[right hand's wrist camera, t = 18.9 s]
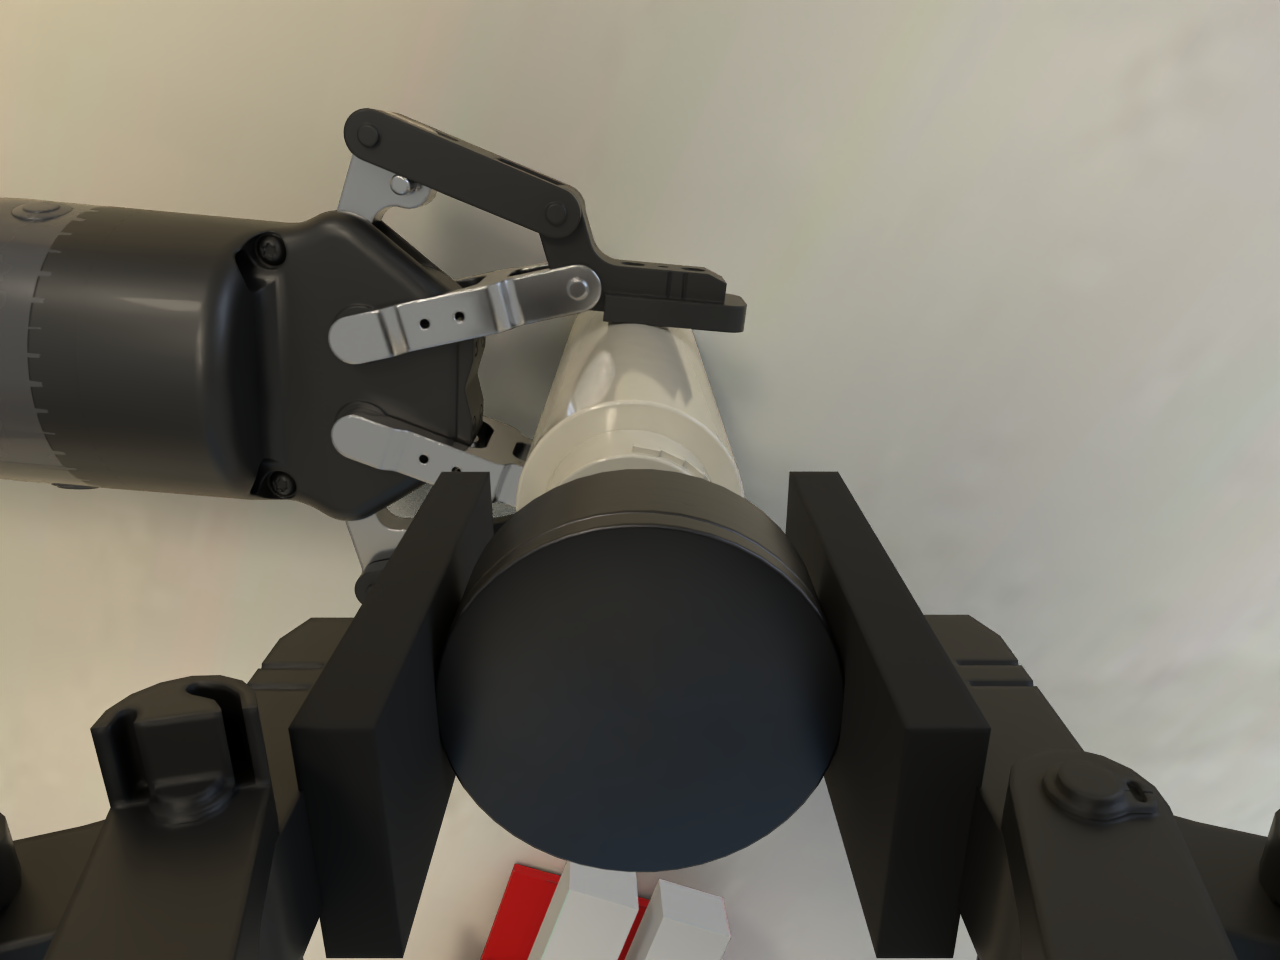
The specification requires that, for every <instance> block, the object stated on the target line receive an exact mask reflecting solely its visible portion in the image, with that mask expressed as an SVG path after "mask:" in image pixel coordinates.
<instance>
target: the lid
mask: <svg viewBox="0 0 1280 960" xmlns="http://www.w3.org/2000/svg"><path fill="white" fill-rule="evenodd" d="M844 687H845V675H844V671H843V666H842V662H841V658H840V653H839V650H838V648H837V645H836V643H835V640H834V638H833V635H832V633H831V630H830V627H829V625H828V622H827V620H826V617H825V615H824V612H823V609H822V607H821V604H820V602H819V599H818V597H817V594H816V591H815V589H814V586H813V584H812V581H811V579H810V576H809V574H808V571H807V569H806V566H805V564H804V562H803V560H802V559H801V557H800V555H799V553H798V552H797V550H796V548H795V546H794V545H793V544H792V542H791V541H790V540H789V539H788V537H787V536H786V535H785V533H784V532H783V531H782V530H781V528H780V527H779V526H778V525H777V524H776V523H775V522H773V521H772V520H771V519H770V518H769V517H768V516H767V515H766V514H765V513H764V512H763V511H762V510H760V509H759V508H757V507H756V506H755V505H753V504H752V503H751V502H749V501H748V500H746V499H745V498H743V497H741V496H740V495H738V494H736V493H734V492H732V491H730V490H729V489H727V488H725V487H723V486H720V485H718V484H715V483H713V482H710V481H707V480H705V479H702V478H699V477H695V476H691V475H687V474H683V473H679V472H673V471H664V470H656V469H623V470H616V471H608V472H601V473H597V474H593V475H589V476H585V477H581V478H578V479H575V480H573V481H570V482H567V483H565V484H562V485H560V486H557V487H555V488H553V489H551V490H549V491H548V492H546V493H544V494H542V495H541V496H539V497H537V498H535V499H533V500H532V501H531V502H529V503H528V504H527V505H525V506H524V507H523V508H521V509H520V510H519V511H517V512H516V513H515V514H514V515H513V516H512V517H511V518H510V519H509V520H508V521H507V522H506V523H505V524H504V525H502V526H501V527H500V528H499V529H498V531H497V532H496V533H495V535H494V536H493V537H492V539H491V540H490V541H489V542H488V544H487V545H486V546H485V548H484V550H483V552H482V553H481V555H480V557H479V559H478V560H477V562H476V564H475V566H474V568H473V571H472V573H471V576H470V579H469V581H468V584H467V586H466V589H465V591H464V594H463V596H462V599H461V602H460V604H459V607H458V609H457V612H456V614H455V617H454V620H453V622H452V625H451V627H450V630H449V632H448V635H447V638H446V640H445V643H444V645H443V648H442V651H441V653H440V657H439V662H438V667H437V671H436V676H435V694H436V706H437V716H438V727H439V735H440V739H441V743H442V747H443V749H444V751H445V754H446V756H447V758H448V761H449V763H450V765H451V768H452V769H453V771H454V773H455V774H456V776H457V778H458V779H459V781H460V783H461V784H462V786H463V788H464V789H465V790H466V791H467V792H468V794H469V795H470V796H471V797H472V799H473V800H474V801H475V802H476V804H477V805H478V806H479V807H480V808H481V809H482V810H483V811H484V812H485V813H486V814H487V815H488V816H490V817H491V818H492V819H493V820H494V821H495V822H496V823H497V824H499V825H500V826H501V827H503V828H504V829H505V830H507V831H508V832H509V833H511V834H512V835H513V836H515V837H517V838H519V839H520V840H522V841H524V842H526V843H527V844H529V845H531V846H532V847H534V848H536V849H539V850H541V851H543V852H545V853H548V854H550V855H552V856H555V857H557V858H560V859H563V860H566V861H570V862H573V863H576V864H579V865H584V866H588V867H593V868H598V869H603V870H612V871H623V872H658V871H667V870H677V869H682V868H687V867H691V866H696V865H701V864H704V863H707V862H711V861H714V860H717V859H720V858H723V857H726V856H728V855H730V854H732V853H735V852H737V851H739V850H741V849H743V848H746V847H748V846H750V845H751V844H753V843H755V842H756V841H758V840H760V839H761V838H763V837H765V836H766V835H768V834H769V833H771V832H772V831H773V830H775V829H776V828H777V827H779V826H780V825H781V824H782V823H784V822H785V821H786V820H788V819H789V818H790V817H791V816H792V815H793V814H794V813H795V812H796V811H797V810H798V809H799V808H800V807H801V806H802V805H803V804H804V803H805V801H806V800H807V799H808V798H809V796H810V795H811V794H812V792H813V791H814V790H815V789H816V787H817V786H818V785H819V783H820V781H821V779H822V778H823V776H824V774H825V773H826V771H827V769H828V768H829V766H830V763H831V761H832V759H833V756H834V754H835V751H836V749H837V746H838V744H839V739H840V731H841V722H842V711H843V700H844Z"/></svg>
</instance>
